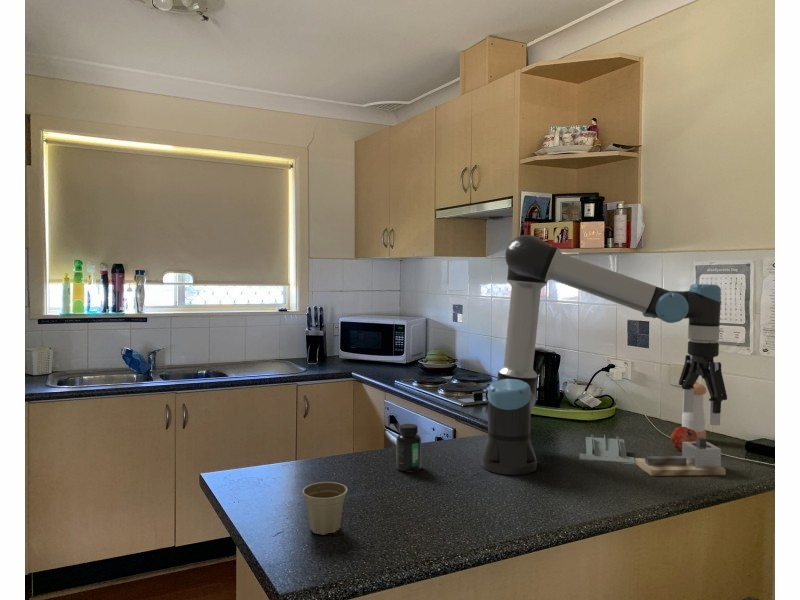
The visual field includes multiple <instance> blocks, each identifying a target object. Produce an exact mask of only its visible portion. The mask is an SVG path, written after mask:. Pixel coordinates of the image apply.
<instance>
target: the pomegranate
mask: <svg viewBox="0 0 800 600" xmlns="http://www.w3.org/2000/svg"><path fill="white" fill-rule="evenodd" d="M696 437H697V434H696V432H695V431H694V430H691V429H688V428H687V427H682V426H678V427H675V429H674V430H673V431H672V433H671V435H670V439H671V442H672V443H673V446H674V448H675V449H677V450H679V451H681V452H682V442H696Z"/></svg>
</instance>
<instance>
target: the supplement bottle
mask: <svg viewBox="0 0 800 600" xmlns="http://www.w3.org/2000/svg"><path fill="white" fill-rule="evenodd" d="M418 432H419V431H418V425H417V424H415V423H402V424H400V425H399V433H400V434H398V435H397V437H396V438H395V439H396V440H395V441H396V443H395V445H396V449H395V450H396V460H395V461H396V469H397V468H398V469H399V470H402V471H416V472H418V471H417V470H419V469H420V470H421V469H422V438H421V436H420V435H419V434H418ZM398 469H397V470H398ZM399 470H398V471H399ZM420 470H419V471H420ZM402 471H401V472H402Z"/></svg>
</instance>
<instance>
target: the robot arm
mask: <svg viewBox="0 0 800 600" xmlns="http://www.w3.org/2000/svg"><path fill="white" fill-rule="evenodd" d="M504 259H505V261H506V265H507V277H506V282H508V284H509V285H510V287H511V288H510V289H511V290H510V301H509V310H508V318H507V320H508V321H507V329H506V330H507V331H506V341H505V349H504V351H505V352H504V360H503V361H504V362H503V366H502V367H500V368H499V369H498V370H497V379H496V380H495V381H492V382H491V383H490V384H489V386H488V391H487V440H486V442H485V446H484V448H483V452H482V455H481V466H482V468H483V469H484V470H487V471H488V472H491V473H495V474H498V475H499V474H500V475H510V476H514V475H515V476H518V475H519V476H521V475H526V474H531V473H533V472H535V471H536V470H537V463H538V462H537V461H538V460H537V457H536V456H537V455H536V453H535V450H534V447H533V444H532V440H531V413H532V412H533V409H534V408H535V405H536V403H537V400H538V399H537V398H538V393H537V387H538V386H537V385H538V383H537V382H538V374H537V372H536V370H534V362H535V353H536V341H537V333H538V332H537V331H538V321H539V315H540V314H539V313H540V303H541V292H542V289H543V288H544V287H545V286H547V284H548V281H554V282H557V283H561V284H562V285H565V286H568V287H571V288H574V289H577V290H579V291H582V292H585V293H587V294H590V295H593V296H596V297H598V298H601V299H604V300H607V301H610V302H613V303H615V304H619V305H621V306H624V307H626V308H628V309H632V310H635V311H638V312H641V314H642V316H643V317H645V318H652V319H659V320H661V321H662V322H665V323H668V324H675V323H678V322H679V323H680V322H681V321H682V320H683V319H685V320H686V319H688V329H687V330H688V332H687V333H688V334H687V338H688V339H689V341H687V354H686V355H685V359H684V365H683V368H682V371H681V374H680V377H679V380H678V385H679V386H681V389H682V388H683V391H682V405H681V406H682V407H681V408H682V409H681V413H683V412H688V413H693V400H694V390H693V389H694V386H693V385H694V384H695V382H697V380H698V378H699V377H700V376H701V378H702V379H703V380H704V383H705V386H706V389H707V391H708V393H709V397H710V398H709V399H708V419H707V421H708V422H707V423H708V424H707V425H709V426H721V413H722V412H721V411H722V410H721V409H722V401H727V400H728V394H727V390H726V385H725V381H724V377H723V373H722V363H721V362H720V361H718V362H717V361H715V360H714V358H715V357H716V358H717V357H718V356H719V354H720V353H719V352H720V351H719V350H720V344H719V342H718V341H720V332H721V329H720V325H721V324H720V322H721V308H722V307H721V306H722V296H721V295H722V294H721V293H722V292H721V291H722V289H721V287H720V285H717V284H703V283H701V284H699V283H698V284H696V283H692V284H691V285H690V286H689V290H684V291H683V290H681V291H680V290H667V289H665V288H663V287H658V286H657V285H654V284H651V283H648V282H645V281H642V280H639V279H637V278H633V277H630V276H628V275H625V274H622V273H619V272H616V271H614V270H611V269H609V268H605V267H603V266H599V265H596V264H594V263H590V262H588V261H586V260H585V261H584V260H582V259H579V258H576V257H573V256H570V255H568V254H565V253H562V251H561V249H560V248H559V247H557V246H554V245H551V244H549V243H546V242H545V240H543V239H541V238H539V237H537V236H534V235H531V234H522V235H519V236H517V237H515V238H513V239H512V240H511V241H510V242H509V243H508V245H507V247H506V249H505V257H504Z"/></svg>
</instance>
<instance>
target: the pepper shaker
mask: <svg viewBox="0 0 800 600" xmlns="http://www.w3.org/2000/svg"><path fill="white" fill-rule="evenodd" d="M693 386H694V389H693V390H694V400H693V413H688V412H682V415H681V427H687V428H688V429H691V430H694V431H695V432H696V434H697V437H703V438H705V439H706V440H707V431H706V428H705V426H706V418H705V411H704V395H705V394H707V387H706V385H703V384H702V383H698V382H697V381H696V382H695V384H694V385H693ZM681 391H682V392H683V388H682V387H681Z"/></svg>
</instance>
